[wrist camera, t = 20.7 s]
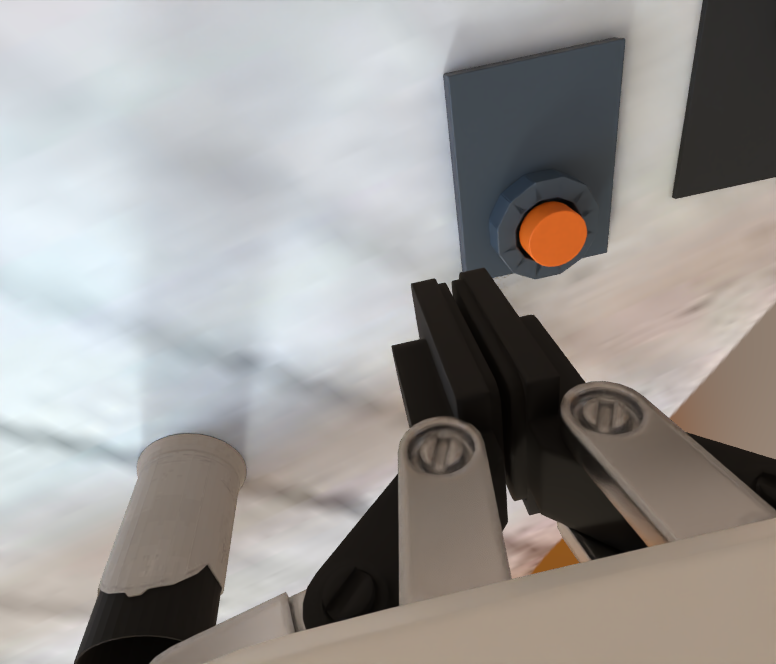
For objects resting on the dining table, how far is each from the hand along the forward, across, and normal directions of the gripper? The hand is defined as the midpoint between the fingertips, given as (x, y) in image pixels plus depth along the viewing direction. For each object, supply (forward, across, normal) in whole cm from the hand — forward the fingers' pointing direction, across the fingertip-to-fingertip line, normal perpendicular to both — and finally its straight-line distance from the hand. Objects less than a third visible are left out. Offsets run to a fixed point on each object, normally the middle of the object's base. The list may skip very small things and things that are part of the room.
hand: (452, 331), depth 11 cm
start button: (+18, -10, +7) cm, 22 cm away
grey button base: (+21, -10, +4) cm, 24 cm away
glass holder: (+21, +20, +26) cm, 39 cm away
